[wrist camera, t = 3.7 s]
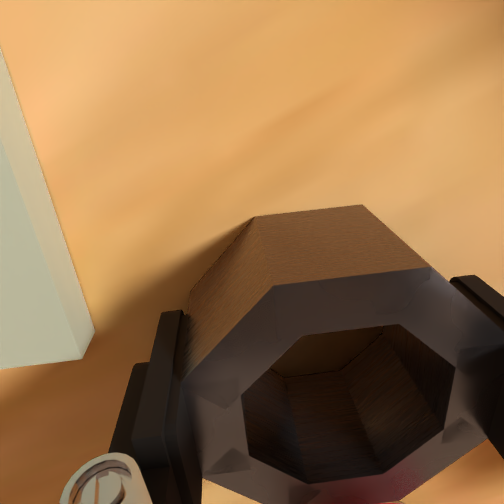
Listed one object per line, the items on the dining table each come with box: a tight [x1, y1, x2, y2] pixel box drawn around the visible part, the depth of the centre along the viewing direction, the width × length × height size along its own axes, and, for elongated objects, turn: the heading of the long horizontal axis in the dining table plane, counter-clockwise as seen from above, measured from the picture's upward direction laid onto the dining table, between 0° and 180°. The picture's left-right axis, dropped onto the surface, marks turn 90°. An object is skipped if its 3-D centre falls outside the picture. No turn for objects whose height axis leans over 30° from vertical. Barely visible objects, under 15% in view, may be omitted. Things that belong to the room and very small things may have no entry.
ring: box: [180, 205, 504, 504], centre depth 10 cm, size 7×7×4 cm
